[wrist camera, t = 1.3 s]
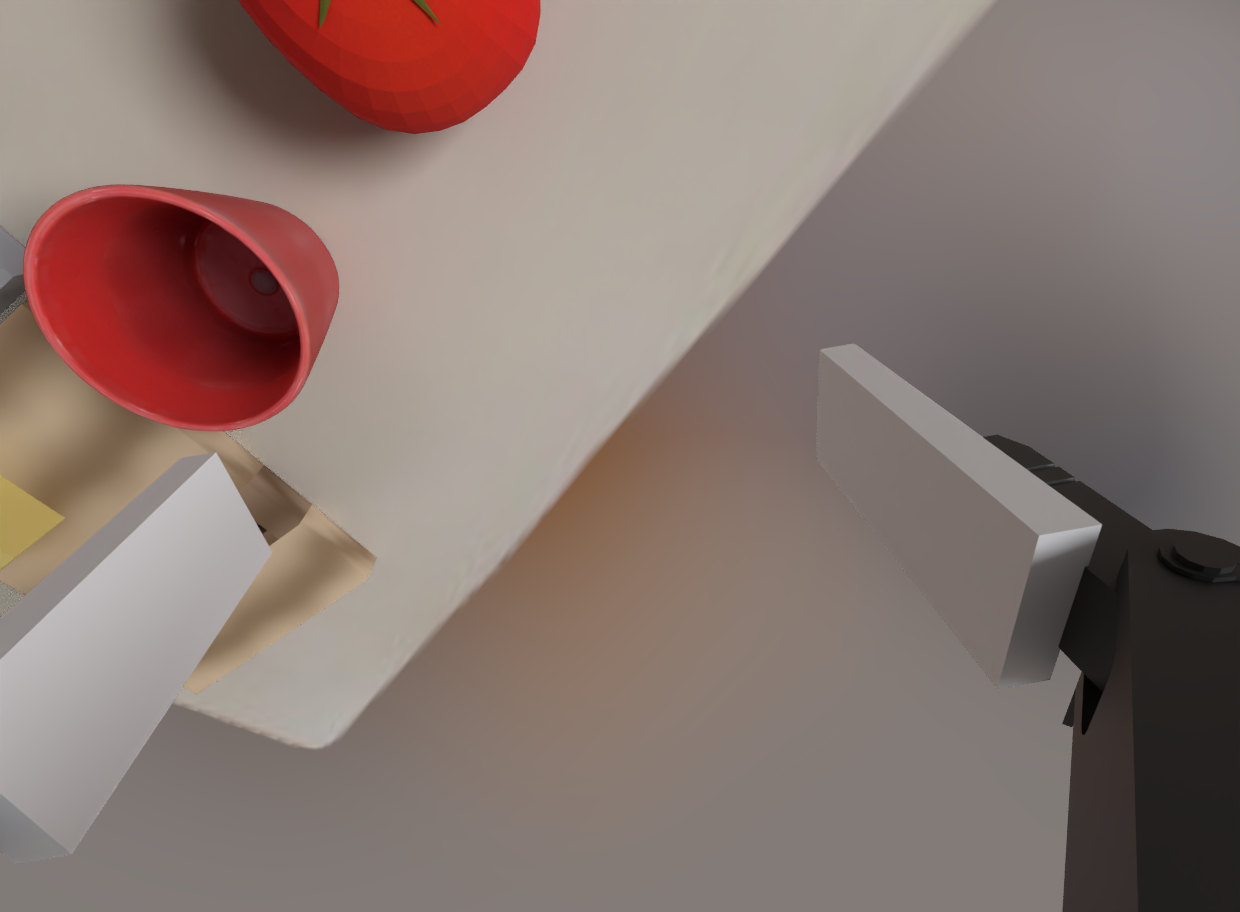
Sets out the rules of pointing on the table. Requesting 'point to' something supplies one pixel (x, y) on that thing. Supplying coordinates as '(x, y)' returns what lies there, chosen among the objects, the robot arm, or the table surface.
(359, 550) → the subfloor panel
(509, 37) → the tomato
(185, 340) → the flower pot
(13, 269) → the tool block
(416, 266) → the table surface
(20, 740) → the robot arm
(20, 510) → the block
